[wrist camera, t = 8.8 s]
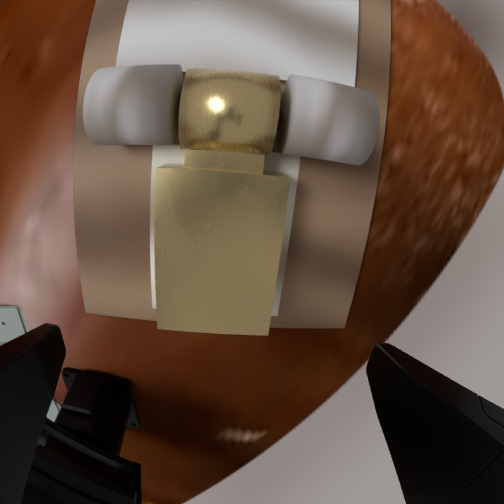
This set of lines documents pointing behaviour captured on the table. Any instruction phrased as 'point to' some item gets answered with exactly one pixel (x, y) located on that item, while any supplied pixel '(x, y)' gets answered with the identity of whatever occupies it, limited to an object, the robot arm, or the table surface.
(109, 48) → the hinge base
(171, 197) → the perfume bottle
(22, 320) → the metal bracket
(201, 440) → the table surface
